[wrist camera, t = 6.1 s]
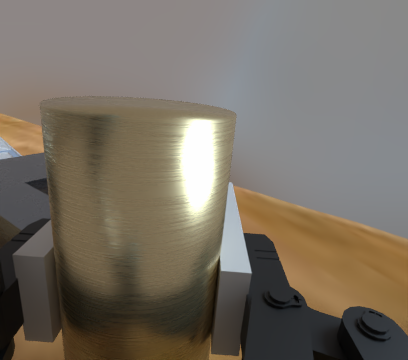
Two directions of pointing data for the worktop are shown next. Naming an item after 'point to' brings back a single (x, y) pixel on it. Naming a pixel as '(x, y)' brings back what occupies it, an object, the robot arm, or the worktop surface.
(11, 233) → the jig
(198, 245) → the brushed metal cylinder
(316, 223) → the worktop surface
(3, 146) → the calculator
